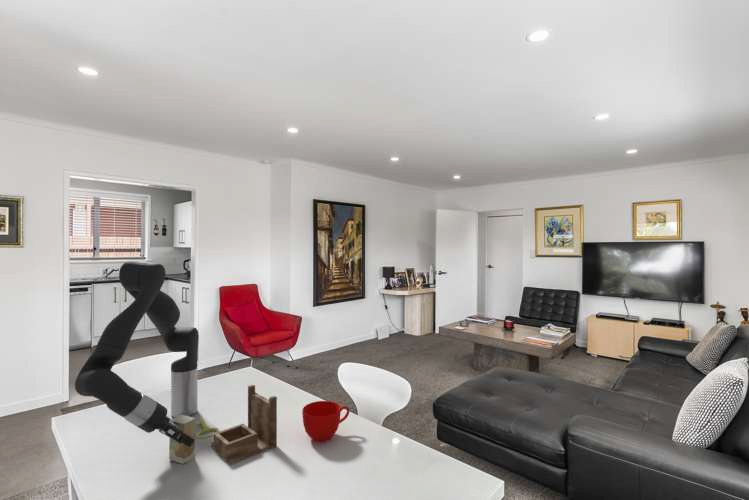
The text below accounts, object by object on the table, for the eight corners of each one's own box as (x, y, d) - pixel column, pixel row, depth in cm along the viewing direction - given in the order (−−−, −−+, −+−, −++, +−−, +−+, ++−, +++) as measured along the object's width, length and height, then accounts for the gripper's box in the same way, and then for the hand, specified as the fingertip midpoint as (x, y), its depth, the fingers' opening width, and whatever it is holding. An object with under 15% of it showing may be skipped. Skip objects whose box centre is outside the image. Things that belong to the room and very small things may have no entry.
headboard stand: (209, 445, 125) (209, 396, 125) (253, 429, 136) (253, 384, 136) (232, 466, 113) (232, 412, 113) (278, 446, 124) (278, 397, 124)
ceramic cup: (357, 438, 130) (357, 408, 130) (310, 451, 121) (310, 420, 121) (341, 422, 141) (341, 395, 141) (296, 434, 132) (296, 405, 132)
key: (202, 423, 141) (202, 418, 141) (221, 433, 134) (221, 427, 134) (183, 431, 135) (183, 425, 135) (202, 442, 128) (202, 436, 128)
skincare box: (168, 459, 116) (168, 419, 116) (180, 452, 120) (180, 414, 120) (184, 464, 114) (184, 423, 114) (195, 457, 118) (196, 417, 118)
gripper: (162, 408, 107) (205, 435, 115) (148, 394, 117) (188, 420, 125) (141, 433, 103) (186, 460, 111) (127, 416, 113) (170, 442, 121)
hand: (187, 438), depth 118 cm, fingers closed on skincare box, 7 cm apart
